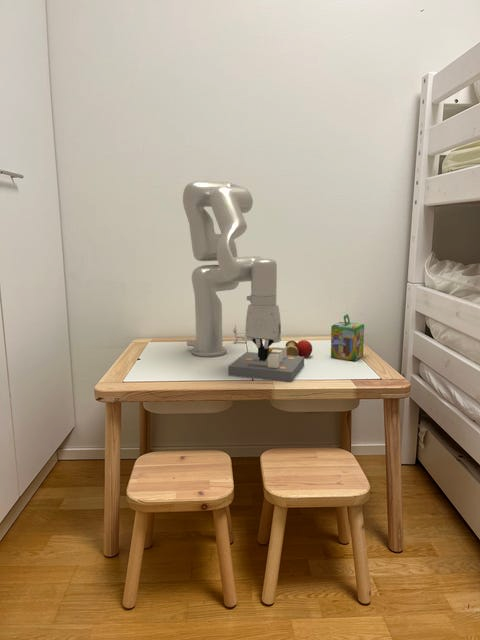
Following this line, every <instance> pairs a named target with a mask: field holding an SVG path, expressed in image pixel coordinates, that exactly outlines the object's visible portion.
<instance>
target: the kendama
mask: <svg viewBox="0 0 480 640" xmlns="http://www.w3.org/2000/svg"><path fill="white" fill-rule="evenodd" d="M285 346H287V355H289V356H301V357H304V358H307V357H309V356H310V355H311V354H312V352H313V345H312V343H311V342H310V341H308V340H305V339H304V340H299V341H298V342H297V341H295V340H292V339H291V340H288V341H287V342H285ZM276 347H277V346H275V347H269V354H271V351H272V350H276Z"/></svg>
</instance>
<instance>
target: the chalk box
mask: <svg viewBox="0 0 480 640" xmlns="http://www.w3.org/2000/svg"><path fill="white" fill-rule="evenodd" d="M350 320H351V319H350V317H349V314H345V315H343V321H344V322H343V321H340V322H337V323H334V324H332V325H331V327H330V328H331V329H330V330H331V331H330V333H331V334H330V335H331V337H330V338H331V340H330V343H331V344H330V358H331V359H339V360H346V361H353V362H356V361H358V360H359V359H360V358H362V357H363V356H364V341H365V340H364V339H365V324H363V323H355V322H351V321H350Z"/></svg>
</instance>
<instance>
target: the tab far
mask: <svg viewBox="0 0 480 640" xmlns="http://www.w3.org/2000/svg"><path fill="white" fill-rule="evenodd" d="M275 347H276V350H282V358H284V359H285V358H286V357H287V346H286V345H276V346H275Z"/></svg>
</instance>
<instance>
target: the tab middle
mask: <svg viewBox="0 0 480 640" xmlns="http://www.w3.org/2000/svg"><path fill="white" fill-rule="evenodd" d="M271 354H276V355H280V361H279V363H281V362H282V350H272V351H271Z"/></svg>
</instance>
